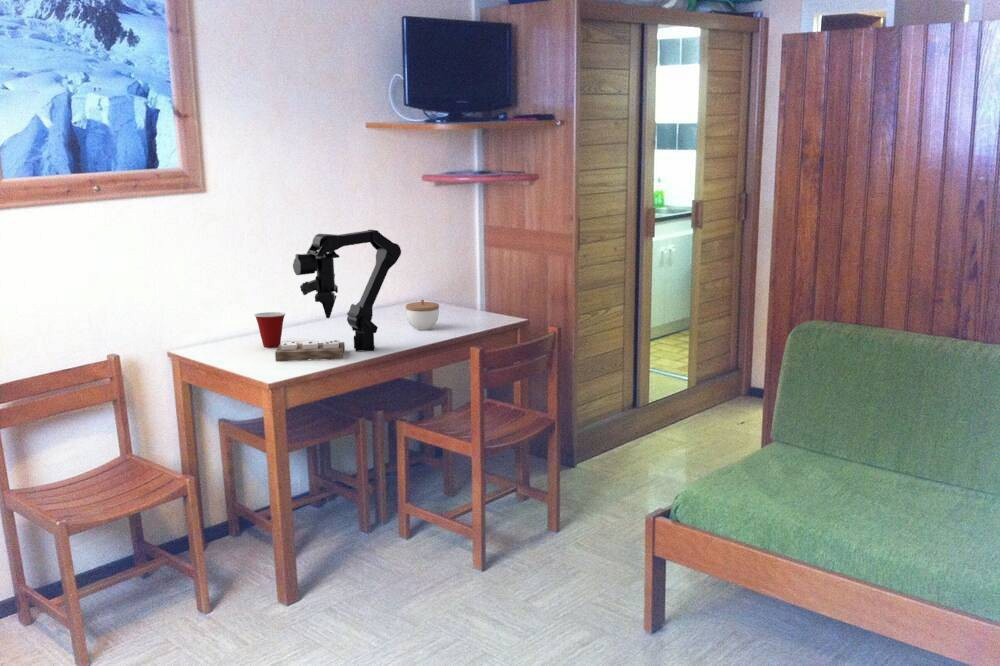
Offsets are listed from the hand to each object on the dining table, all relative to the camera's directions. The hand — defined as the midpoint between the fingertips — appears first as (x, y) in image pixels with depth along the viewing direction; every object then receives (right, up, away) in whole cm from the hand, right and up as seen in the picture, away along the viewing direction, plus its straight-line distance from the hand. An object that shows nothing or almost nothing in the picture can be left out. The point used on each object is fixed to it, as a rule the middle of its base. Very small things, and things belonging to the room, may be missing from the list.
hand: (328, 317), depth 320 cm
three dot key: (+1, -10, +2) cm, 10 cm away
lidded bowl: (+28, -3, +44) cm, 52 cm away
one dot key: (-6, -10, +1) cm, 12 cm away
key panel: (-6, -13, +2) cm, 14 cm away
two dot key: (-13, -10, +1) cm, 17 cm away
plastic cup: (-23, -10, +17) cm, 30 cm away
